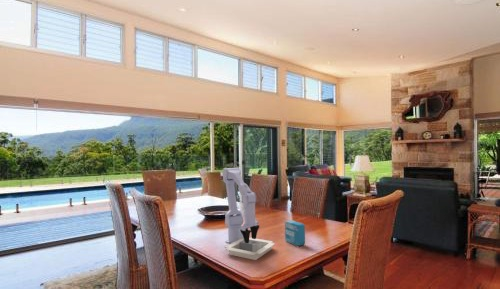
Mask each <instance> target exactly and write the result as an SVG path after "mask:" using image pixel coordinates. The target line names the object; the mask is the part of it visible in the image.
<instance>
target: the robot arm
mask: <svg viewBox="0 0 500 289" xmlns="http://www.w3.org/2000/svg"><path fill="white" fill-rule="evenodd" d="M241 173H242V172H241V169H240V167H238V166H237V167H225V168H223V170H222V173H221V175H222V180H223V183H225V188H226V196H227V203H228V204H227V205H228V211H227V212H226V213H225V215H224V217H225V218H224V223H225V224H224V225H225V226H226V227H227V228H228V230H227V231H228V233H227V234H228V239H227V240H226V241H225V243H229V244H231V243H233V242H235V241H237V240H239V239H241V238H244V241H245V243H249V238H250V235H251V238H252V239H257V235H258V231H259V229H260V225H259V220H256V203H257V201H258V196H257V193H256V192H254V191H252V190H251V188H250V187H249V185H248V184H247V183H245V182H244V180H243V177H242V176H241V175H242V174H241ZM235 183H236V185H237V187H238V188H237V189H238V190H237V191H239V193H240V195H241V197H242V198H241V200H242V204H243V208H244V217H243V215H242V211H240V210H239V209H238V204H237V197H236V191H235V190H236V189H235Z"/></svg>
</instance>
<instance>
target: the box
mask: <svg viewBox="0 0 500 289" xmlns="http://www.w3.org/2000/svg"><path fill="white" fill-rule="evenodd" d="M260 249H261V243H259V242H253V241H249V243H245V241H244V240H243V241H241V242H240V250H246V251H251V252H257V251H258V250H260Z"/></svg>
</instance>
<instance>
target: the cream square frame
mask: <svg viewBox="0 0 500 289" xmlns="http://www.w3.org/2000/svg"><path fill="white" fill-rule="evenodd" d="M243 240H244V238H241V239H239V240H237V241H235V242H233V243H229V244H228V245H225V247H224V248H225V250H226V251H228V255H229V256H235V257H239V258H244V259H249V260H252V261H253V260H254V261H257V260H258V259H259V258H261V257H262V256H264V255H265V254H267V253H268V252H270V251H271V250H272V247H273V246H275V245H276V243H274V241H272V240H267V239H261V238H256V239H252V237H249V241H253V242H259V243H261V249H260V250H258V251H257V252H251V251H246V250H240V242H241V241H243Z"/></svg>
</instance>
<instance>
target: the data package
mask: <svg viewBox="0 0 500 289" xmlns="http://www.w3.org/2000/svg"><path fill="white" fill-rule="evenodd" d="M284 234H285V236H284V237H285V238H284V239H285V241H286V243H290V244H292V245H294V246H297V247H301V246H303V245H306V226H305V224H304V223H302V222H299V221H295V220H287V221H285V223H284Z"/></svg>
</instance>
